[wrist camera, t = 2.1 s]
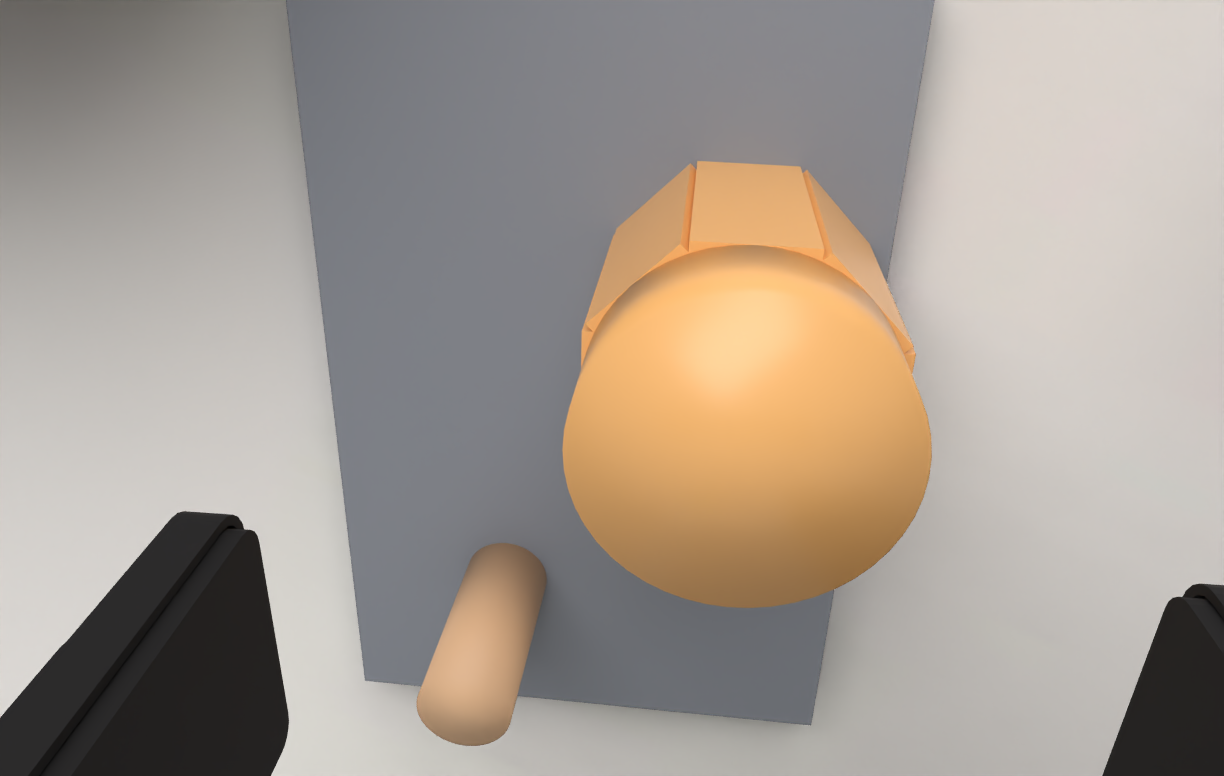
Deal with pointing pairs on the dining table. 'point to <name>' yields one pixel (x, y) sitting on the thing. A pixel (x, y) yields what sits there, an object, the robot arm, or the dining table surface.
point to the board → (550, 313)
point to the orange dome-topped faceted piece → (745, 394)
